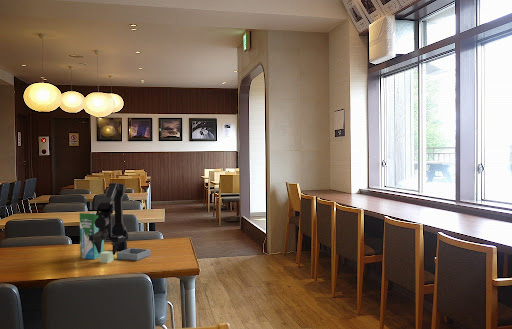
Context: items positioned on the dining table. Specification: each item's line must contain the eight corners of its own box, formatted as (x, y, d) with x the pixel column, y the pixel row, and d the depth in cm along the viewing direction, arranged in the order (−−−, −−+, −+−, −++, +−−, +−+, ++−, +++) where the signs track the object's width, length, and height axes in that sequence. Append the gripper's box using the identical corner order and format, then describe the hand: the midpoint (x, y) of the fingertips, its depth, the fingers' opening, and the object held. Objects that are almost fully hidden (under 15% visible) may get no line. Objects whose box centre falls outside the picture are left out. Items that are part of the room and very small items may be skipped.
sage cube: (99, 262, 246) (99, 253, 246) (105, 260, 251) (105, 251, 251) (107, 263, 245) (107, 253, 244) (113, 260, 249) (113, 251, 249)
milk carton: (104, 255, 261) (103, 211, 260) (93, 259, 252) (93, 213, 251) (91, 254, 264) (90, 210, 263) (80, 258, 255) (79, 212, 254)
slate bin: (116, 259, 253) (116, 252, 253) (130, 253, 265) (130, 247, 265) (137, 261, 248) (137, 254, 248) (150, 255, 261) (150, 249, 260)
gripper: (81, 226, 243) (81, 256, 243) (111, 228, 236) (111, 259, 237) (95, 223, 253) (95, 251, 254) (124, 225, 247) (124, 254, 247)
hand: (106, 254), depth 248 cm, fingers open, 9 cm apart
